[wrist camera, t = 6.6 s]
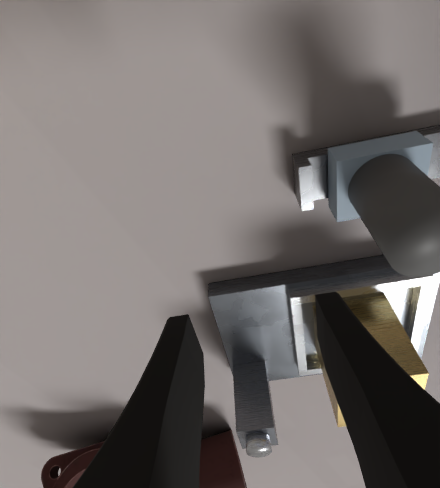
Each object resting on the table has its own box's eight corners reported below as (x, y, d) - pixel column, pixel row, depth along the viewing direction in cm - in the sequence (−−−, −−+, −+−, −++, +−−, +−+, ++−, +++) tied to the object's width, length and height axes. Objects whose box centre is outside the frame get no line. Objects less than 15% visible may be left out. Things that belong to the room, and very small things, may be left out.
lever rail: (573, 98, 16) (604, 109, 15) (554, 147, 18) (581, 160, 16) (292, 154, 18) (298, 167, 16) (295, 195, 19) (301, 211, 18)
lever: (416, 130, 16) (504, 194, 11) (408, 192, 18) (480, 269, 13) (327, 148, 16) (375, 217, 12) (328, 206, 18) (370, 286, 13)
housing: (385, 294, 22) (441, 395, 17) (380, 339, 25) (427, 439, 19) (312, 306, 22) (344, 408, 17) (315, 348, 25) (344, 448, 20)
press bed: (434, 246, 21) (510, 337, 16) (413, 347, 27) (464, 439, 22) (208, 283, 23) (207, 378, 17) (235, 371, 29) (240, 463, 23)
